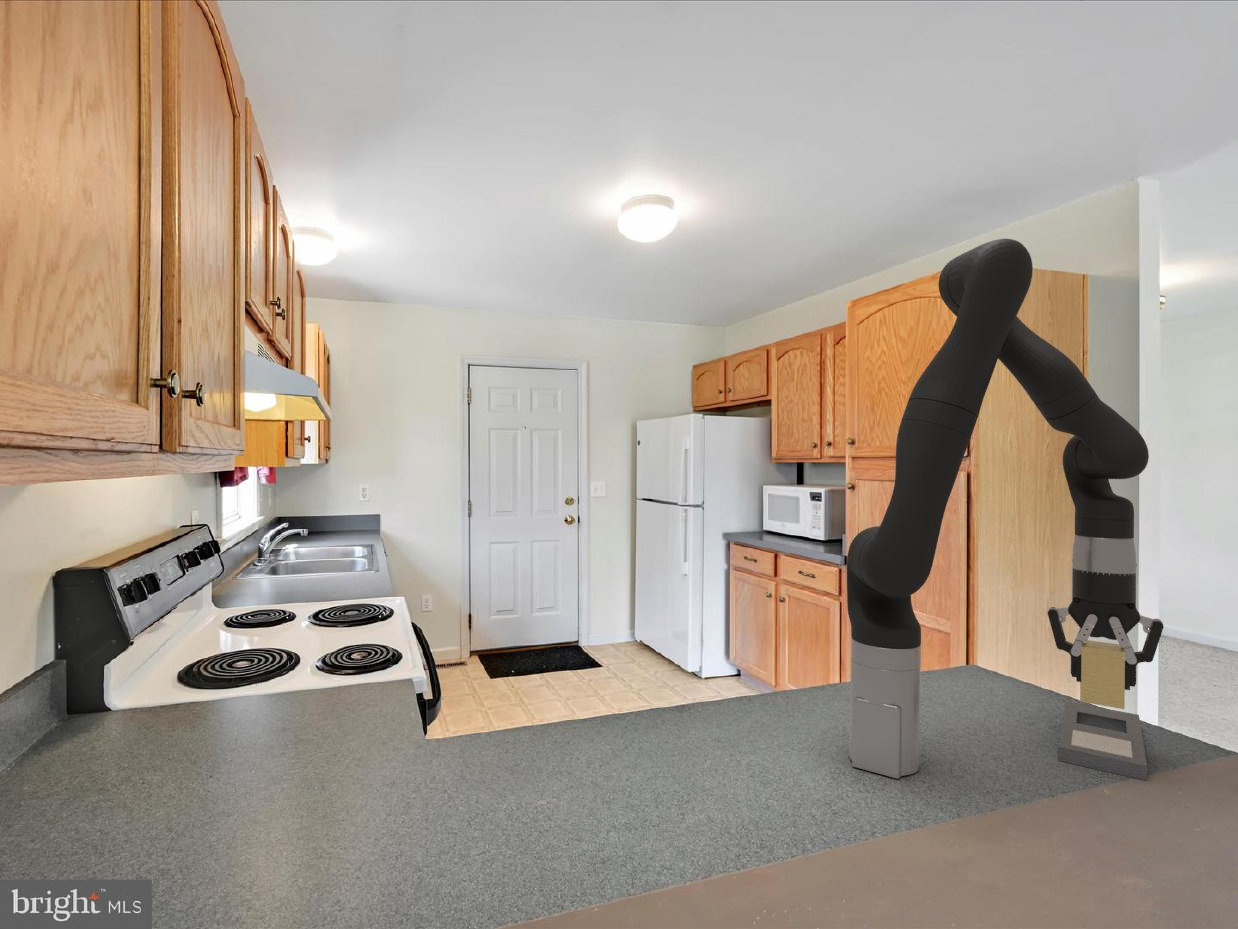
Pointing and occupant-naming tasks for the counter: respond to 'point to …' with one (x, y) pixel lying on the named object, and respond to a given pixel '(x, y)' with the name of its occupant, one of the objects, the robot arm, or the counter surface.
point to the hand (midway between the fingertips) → (1102, 684)
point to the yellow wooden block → (1103, 674)
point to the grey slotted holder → (1102, 740)
